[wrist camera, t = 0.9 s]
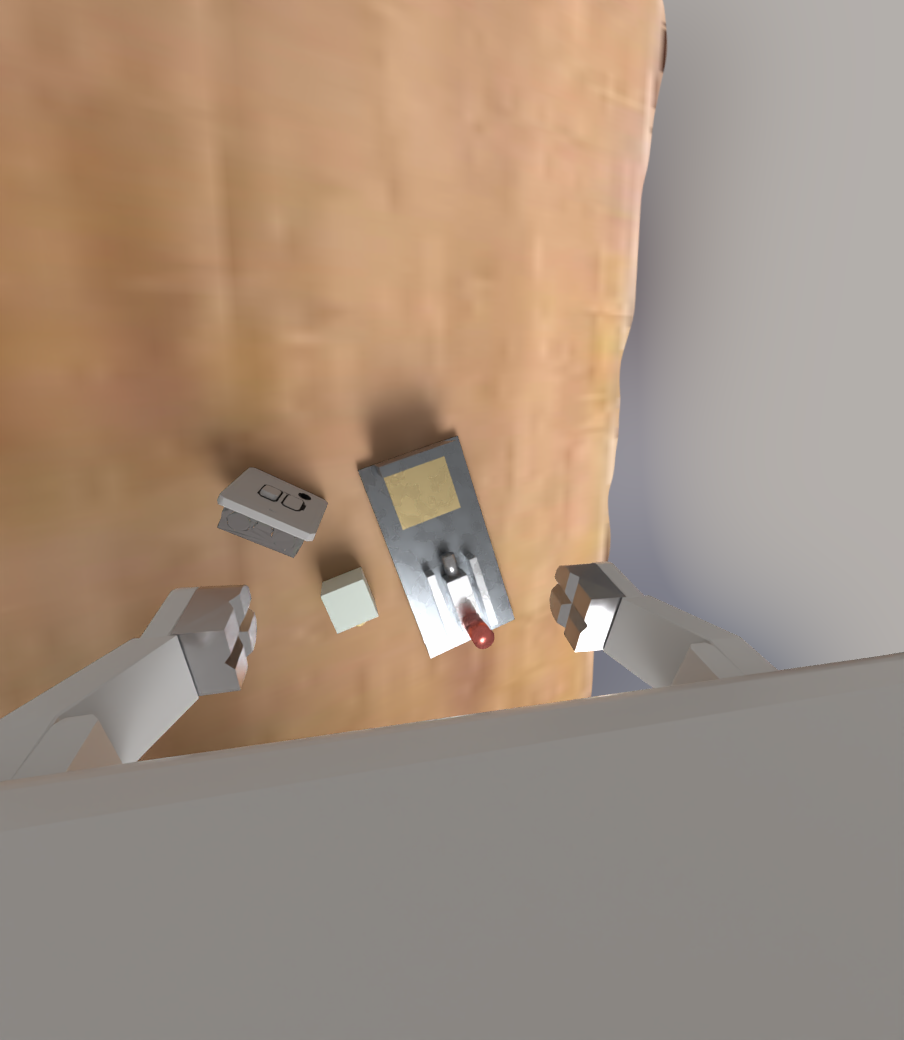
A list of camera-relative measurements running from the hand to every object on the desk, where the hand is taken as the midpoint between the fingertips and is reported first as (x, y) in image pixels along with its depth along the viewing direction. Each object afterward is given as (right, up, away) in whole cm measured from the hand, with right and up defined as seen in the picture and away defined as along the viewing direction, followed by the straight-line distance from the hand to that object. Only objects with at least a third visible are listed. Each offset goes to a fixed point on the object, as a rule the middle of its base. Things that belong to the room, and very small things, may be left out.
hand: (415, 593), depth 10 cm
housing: (-12, -7, +39) cm, 42 cm away
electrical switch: (-19, +4, +35) cm, 40 cm away
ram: (+2, -7, +42) cm, 42 cm away
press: (0, -2, +42) cm, 42 cm away
